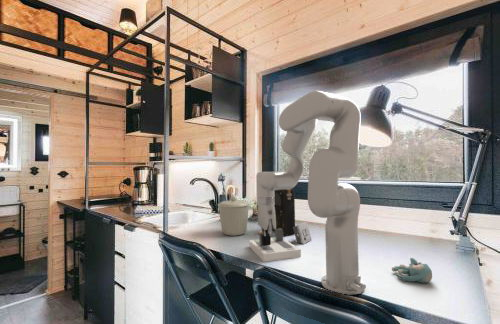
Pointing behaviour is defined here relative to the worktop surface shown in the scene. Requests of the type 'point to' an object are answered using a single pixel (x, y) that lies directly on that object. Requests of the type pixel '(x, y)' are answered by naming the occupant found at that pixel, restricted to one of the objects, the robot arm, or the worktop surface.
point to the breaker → (279, 234)
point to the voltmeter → (285, 211)
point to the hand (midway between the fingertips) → (266, 244)
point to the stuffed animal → (414, 272)
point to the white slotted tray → (275, 250)
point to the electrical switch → (302, 233)
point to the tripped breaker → (260, 237)
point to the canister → (234, 216)
